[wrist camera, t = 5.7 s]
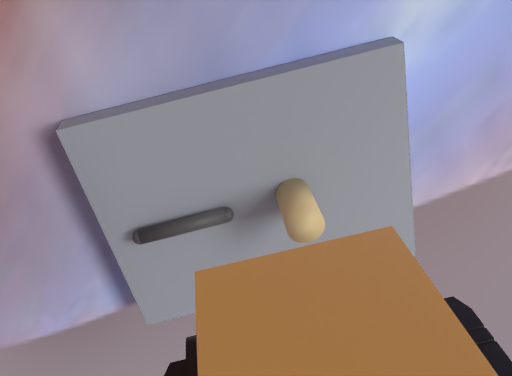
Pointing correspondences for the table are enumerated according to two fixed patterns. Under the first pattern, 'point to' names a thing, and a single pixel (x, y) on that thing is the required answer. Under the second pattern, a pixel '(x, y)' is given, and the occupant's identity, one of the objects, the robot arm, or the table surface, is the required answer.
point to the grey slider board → (247, 168)
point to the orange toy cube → (330, 314)
